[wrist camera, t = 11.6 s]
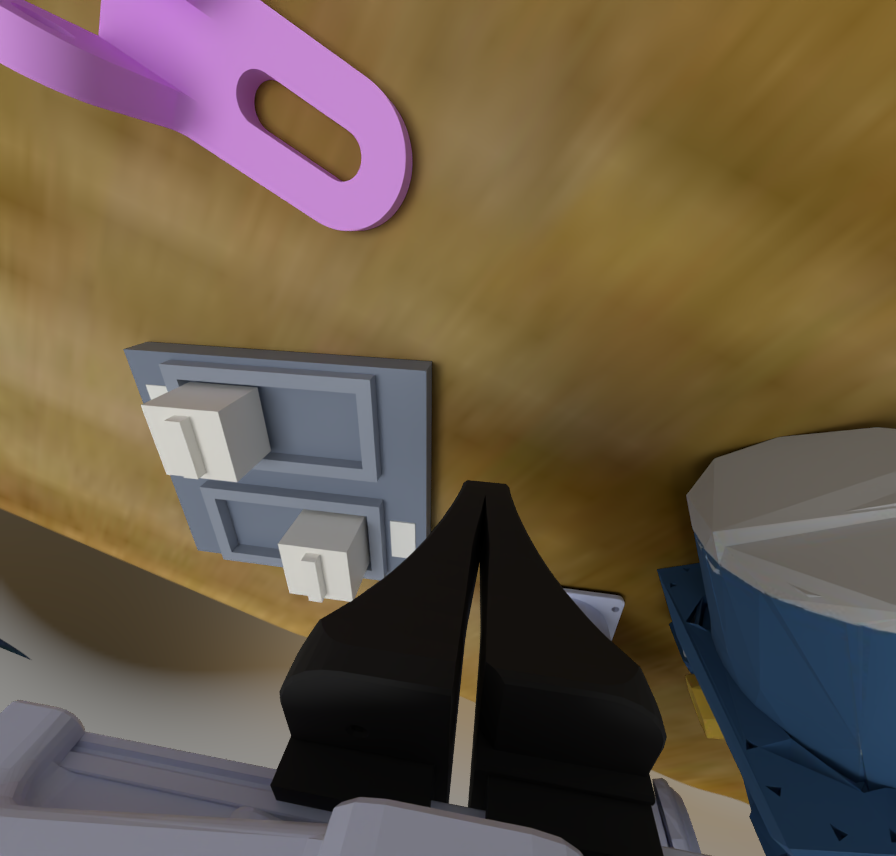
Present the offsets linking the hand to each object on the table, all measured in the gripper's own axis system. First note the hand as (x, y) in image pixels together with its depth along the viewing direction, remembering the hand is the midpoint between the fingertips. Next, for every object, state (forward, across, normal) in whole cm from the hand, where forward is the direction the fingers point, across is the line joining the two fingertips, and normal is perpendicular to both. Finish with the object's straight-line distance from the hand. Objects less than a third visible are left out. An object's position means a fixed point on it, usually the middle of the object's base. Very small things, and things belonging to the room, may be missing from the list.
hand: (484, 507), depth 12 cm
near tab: (+8, +15, +2) cm, 17 cm away
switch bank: (+10, +12, +6) cm, 17 cm away
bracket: (+10, +10, -12) cm, 19 cm away
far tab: (+8, +9, +10) cm, 16 cm away
